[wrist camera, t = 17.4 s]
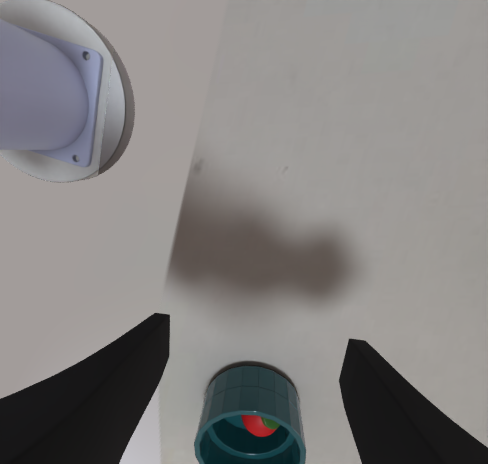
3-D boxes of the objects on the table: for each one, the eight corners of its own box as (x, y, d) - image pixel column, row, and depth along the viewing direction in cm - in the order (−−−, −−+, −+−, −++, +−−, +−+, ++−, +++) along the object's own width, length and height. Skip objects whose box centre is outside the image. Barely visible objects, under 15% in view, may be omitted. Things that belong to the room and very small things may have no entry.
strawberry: (229, 423, 21) (247, 435, 18) (242, 380, 23) (261, 384, 20) (263, 436, 22) (286, 449, 19) (273, 393, 24) (296, 399, 21)
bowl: (197, 417, 25) (183, 473, 20) (220, 349, 22) (210, 397, 18) (280, 442, 25) (283, 503, 21) (311, 377, 23) (323, 431, 18)
